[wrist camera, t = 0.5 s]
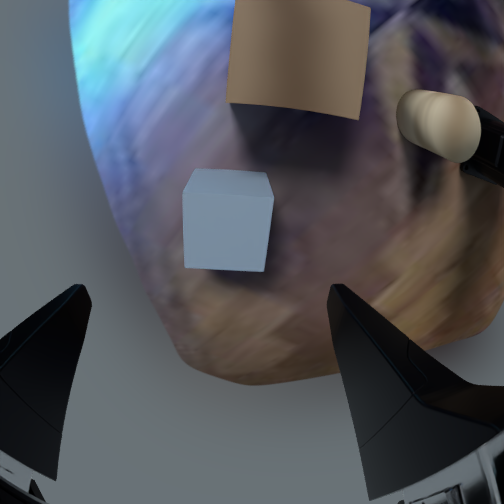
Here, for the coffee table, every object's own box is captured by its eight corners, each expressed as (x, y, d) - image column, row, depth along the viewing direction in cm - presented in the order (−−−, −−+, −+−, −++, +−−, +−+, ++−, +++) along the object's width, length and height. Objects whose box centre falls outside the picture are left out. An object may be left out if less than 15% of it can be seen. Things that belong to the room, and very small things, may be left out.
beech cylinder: (444, 99, 16) (485, 109, 12) (434, 150, 18) (472, 169, 14) (400, 81, 16) (441, 85, 11) (391, 137, 18) (428, 153, 14)
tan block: (340, 23, 13) (370, 8, 9) (330, 111, 17) (358, 120, 13) (237, 7, 13) (237, -18, 9) (228, 100, 17) (225, 102, 12)
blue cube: (265, 172, 19) (274, 197, 15) (258, 233, 22) (263, 271, 18) (195, 168, 19) (182, 192, 15) (194, 230, 22) (184, 267, 17)
